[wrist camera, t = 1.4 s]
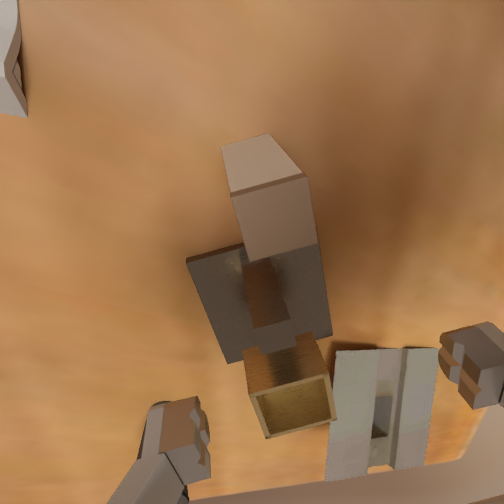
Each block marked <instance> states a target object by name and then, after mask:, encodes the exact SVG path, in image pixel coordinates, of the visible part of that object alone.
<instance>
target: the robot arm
mask: <svg viewBox="0 0 504 504" xmlns="http://www.w3.org/2000/svg"><path fill="white" fill-rule="evenodd" d="M439 342H440V343H441V344H442V345H443V346H442V348H441V349H440V350H439V351H438V361H439V364H440V367H441V369H442V371H443V373H444V374H445V375H446V377H447V378H448V379H449V380H450V381H452V382H454V383H456V384H458V392H459V393H460V394H461V396H462V397H463V398H464V399H465V401H466V402H467V403H468V404H469V406H470V407H471V408H472V409H473V410H474V409H478V408H482V407H487V406H491V405H496V404H500V406H502V407H504V333H503V332H502V331H501V330H500V329H498V328H497V327H496V326H495V325H494V324H493V323H490V322H484V323H480V324H476V325H472V326H467V327H463V328H459V329H456V330H452V331H448V332H445V333H442V334H441V336H440V341H439ZM209 442H210V433H209V426H208V421H207V417H206V414H205V412H204V411H203V410H201V408H200V401H199V399H198V396H195V397H190V398H186V399H182V400H177V401H173V402H168V403H164V404H160V405H156V406H152V407H150V409H149V411H148V415H147V422H146V428H145V435H144V442H143V449H142V456H141V459H138V460H136V461H135V463H134V464H133V466H132V467H131V469H130V470H129V471H128V473H127V474H126V476H125V477H124V479H123V480H122V482H121V483H120V485H119V486H118V488H117V489H116V491H115V492H114V493H113V495H112V496H111V498H110V499H109V501H108V502H107V504H177V502H178V500H179V498H180V496H181V493H182V491H183V489H184V485H187V484H191V483H194V482H197V481H201V480H204V479H208V478H211V464H210V454H209V452H208V449H207V446H208V444H209ZM469 504H504V494H503V495H499V496H495V497H492V498H488V499H484V500H480V501H476V502H473V503H469Z"/></svg>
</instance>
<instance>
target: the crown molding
mask: <svg viewBox="0 0 504 504" xmlns="http://www.w3.org/2000/svg"><path fill="white" fill-rule="evenodd" d="M20 44H21V27H20V14H19V2H18V0H0V113H4V114H9V115H14V116H19V117H24V118H28V113H27V101H26V98H25V97H24V95H23V93H22V83H21V79H20V78H21V72H20V67H19V64H18V63H17V61H18V60H17V56H18V53H19V49H20Z"/></svg>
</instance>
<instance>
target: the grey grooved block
mask: <svg viewBox="0 0 504 504" xmlns="http://www.w3.org/2000/svg"><path fill="white" fill-rule="evenodd" d="M438 351H439V349H437V348H436V349H435V348H431V349H430V348H427V349H426V348H420V349H419V348H416V349H408V348H407V349H406V348H402V349H397V348H394V349H393V348H392V349H391V348H390V349H376V350H359V351H358V350H355V351H353V350H352V351H351V350H350V351H349V350H346V351H336V356H337V358H335V359H336V360H335V373H334V374H335V375H334V382H333V389H332V390H333V391H332V393H333V398H334V404H335V409H336V415H337V420H336V421H332V422H330V427H329V436H330V437H329V440H328V450H327V458H326V466H327V467H326V473H325V474H326V475H325V480H326V481H325V482H329V481H336V480H340V479H341V480H342V479H348V478H354V477H360V476H361V475H362V476H365V475H367V470H368V467H371V466H379V465H380V466H381V465H385V464H388V465H389V466H390V467H392V468H393V469H394V470H401V469H405V468H406V469H407V468H410V467H411V468H413V467H417V466H424V460H425V454H426V448H427V443H428V441H427V439H428V435H429V427H430V424H429V423H430V419H431V410H432V409H431V408H432V403H433V396H434V391H435V386H434V385H435V383H436V375H437V370H438V369H437V368H438V362H439V361H438Z"/></svg>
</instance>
